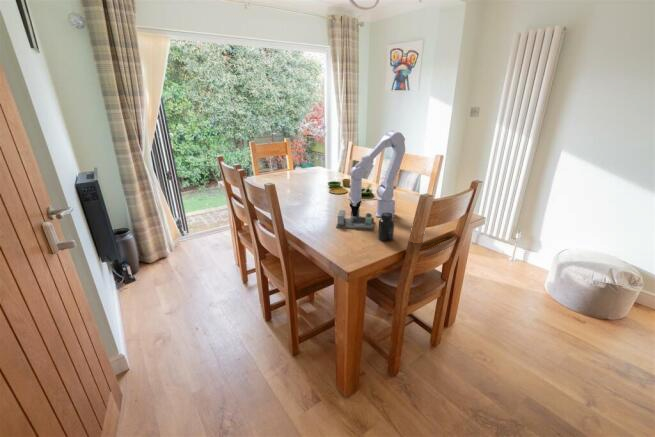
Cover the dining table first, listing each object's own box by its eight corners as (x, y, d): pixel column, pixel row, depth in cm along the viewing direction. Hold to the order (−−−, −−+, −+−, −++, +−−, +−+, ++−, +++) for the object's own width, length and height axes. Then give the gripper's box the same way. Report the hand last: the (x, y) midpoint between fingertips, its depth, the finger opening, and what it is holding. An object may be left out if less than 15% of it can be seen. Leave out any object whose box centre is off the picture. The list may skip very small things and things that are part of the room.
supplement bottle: (391, 235, 137) (393, 211, 133) (394, 241, 131) (397, 216, 126) (376, 235, 137) (378, 211, 133) (379, 242, 131) (381, 217, 126)
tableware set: (379, 201, 185) (380, 191, 182) (336, 204, 180) (336, 194, 178) (360, 184, 222) (361, 175, 220) (324, 186, 218) (324, 177, 215)
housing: (359, 215, 161) (360, 207, 159) (359, 218, 157) (359, 209, 155) (351, 215, 161) (351, 206, 160) (350, 218, 157) (350, 209, 155)
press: (373, 221, 153) (374, 211, 151) (372, 230, 143) (373, 219, 141) (339, 219, 156) (339, 209, 154) (336, 227, 146) (336, 216, 144)
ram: (371, 221, 151) (372, 211, 149) (371, 226, 144) (371, 216, 142) (365, 220, 151) (366, 211, 149) (364, 226, 145) (365, 216, 143)
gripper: (349, 186, 161) (349, 209, 166) (346, 193, 147) (346, 219, 153) (362, 186, 159) (361, 210, 165) (360, 194, 146) (359, 219, 151)
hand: (355, 214), depth 159 cm, fingers closed on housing, 4 cm apart
